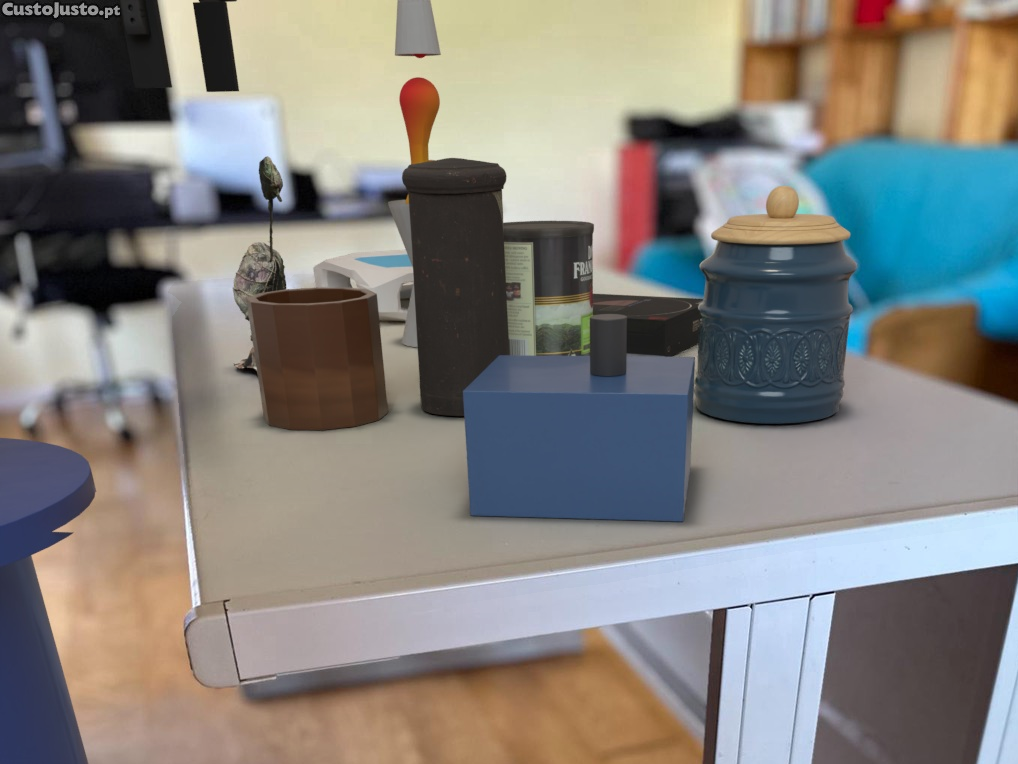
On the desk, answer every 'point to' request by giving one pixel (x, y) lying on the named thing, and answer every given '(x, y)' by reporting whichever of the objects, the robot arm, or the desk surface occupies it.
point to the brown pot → (318, 357)
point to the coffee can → (549, 287)
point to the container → (457, 275)
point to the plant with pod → (260, 256)
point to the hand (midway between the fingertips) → (190, 90)
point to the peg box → (581, 433)
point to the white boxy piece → (372, 278)
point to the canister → (774, 316)
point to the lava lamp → (415, 115)
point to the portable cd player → (654, 322)
